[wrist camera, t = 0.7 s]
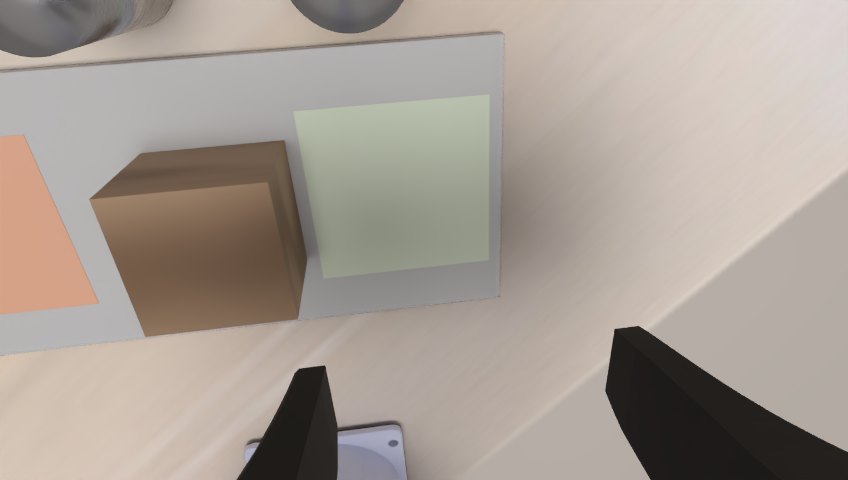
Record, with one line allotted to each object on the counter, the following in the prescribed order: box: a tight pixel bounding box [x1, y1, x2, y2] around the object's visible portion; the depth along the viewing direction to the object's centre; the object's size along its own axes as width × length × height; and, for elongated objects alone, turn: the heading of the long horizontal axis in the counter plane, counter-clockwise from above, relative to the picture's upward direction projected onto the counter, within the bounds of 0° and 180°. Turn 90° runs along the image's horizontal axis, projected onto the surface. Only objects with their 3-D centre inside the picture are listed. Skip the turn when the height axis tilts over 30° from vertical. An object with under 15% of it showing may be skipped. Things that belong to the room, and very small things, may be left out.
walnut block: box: [89, 140, 307, 337], centre depth 18 cm, size 5×5×4 cm
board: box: [0, 32, 504, 356], centre depth 20 cm, size 11×24×1 cm, turn 93°
